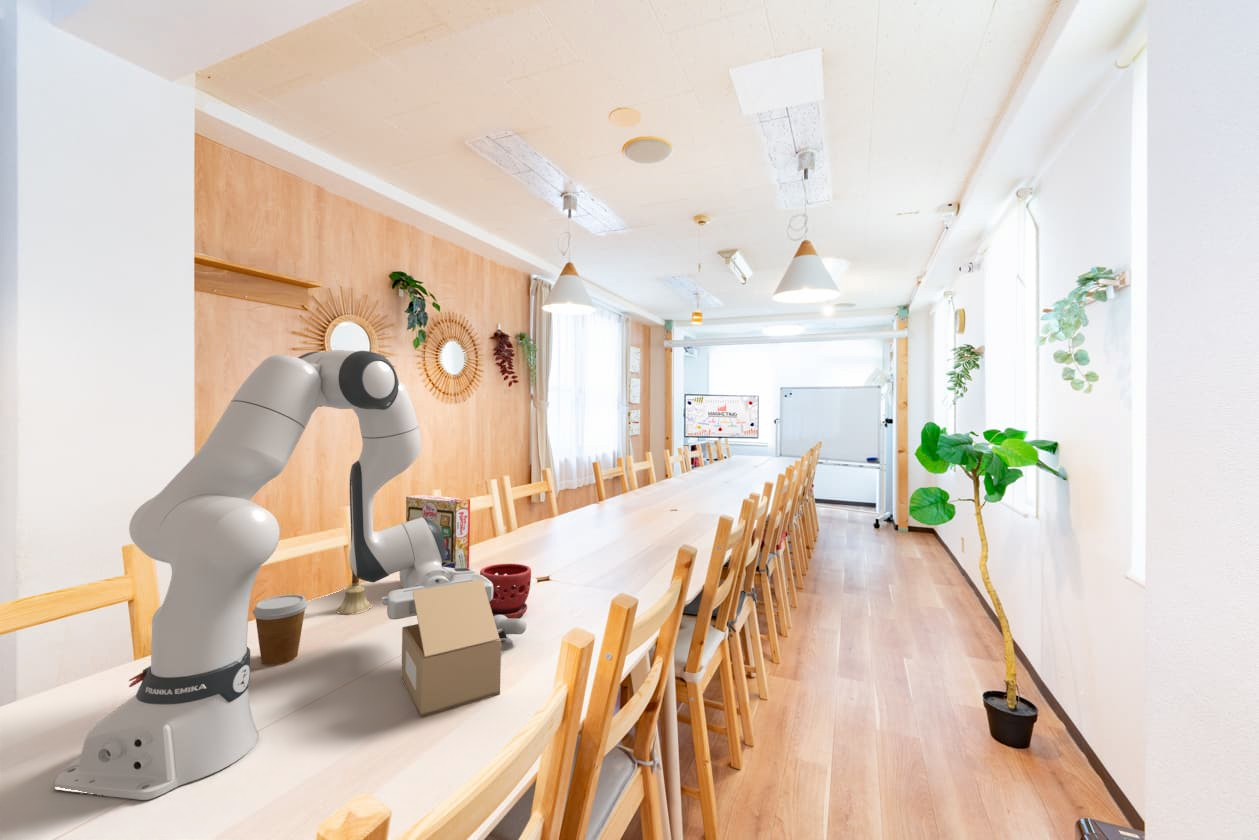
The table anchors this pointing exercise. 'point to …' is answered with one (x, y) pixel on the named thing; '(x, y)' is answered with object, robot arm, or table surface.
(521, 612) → the plant pot
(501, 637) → the clip-on lamp
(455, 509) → the board game box
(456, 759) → the table surface
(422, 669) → the carton
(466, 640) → the carton flap
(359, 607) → the hand bell
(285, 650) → the disposable coffee cup
